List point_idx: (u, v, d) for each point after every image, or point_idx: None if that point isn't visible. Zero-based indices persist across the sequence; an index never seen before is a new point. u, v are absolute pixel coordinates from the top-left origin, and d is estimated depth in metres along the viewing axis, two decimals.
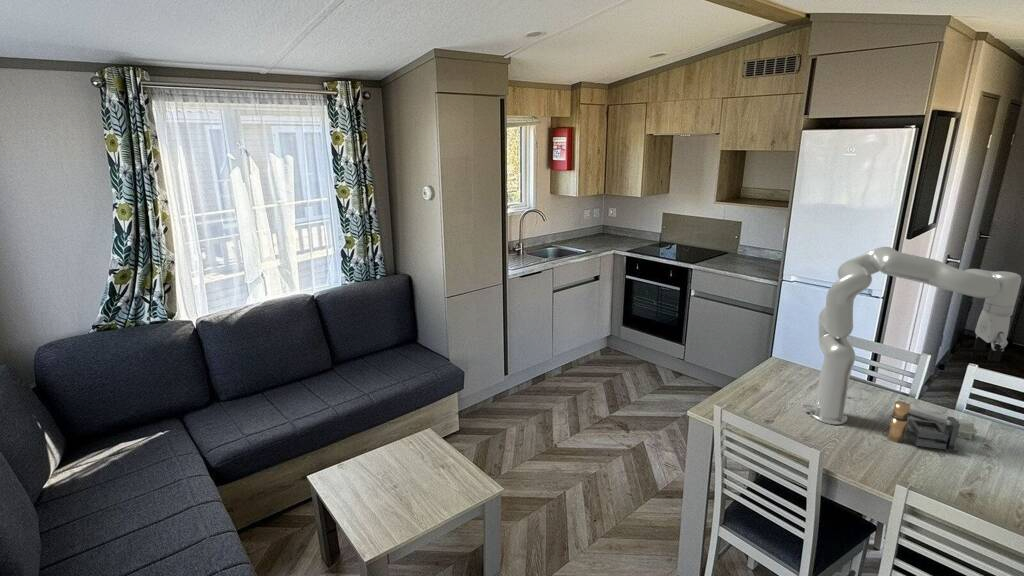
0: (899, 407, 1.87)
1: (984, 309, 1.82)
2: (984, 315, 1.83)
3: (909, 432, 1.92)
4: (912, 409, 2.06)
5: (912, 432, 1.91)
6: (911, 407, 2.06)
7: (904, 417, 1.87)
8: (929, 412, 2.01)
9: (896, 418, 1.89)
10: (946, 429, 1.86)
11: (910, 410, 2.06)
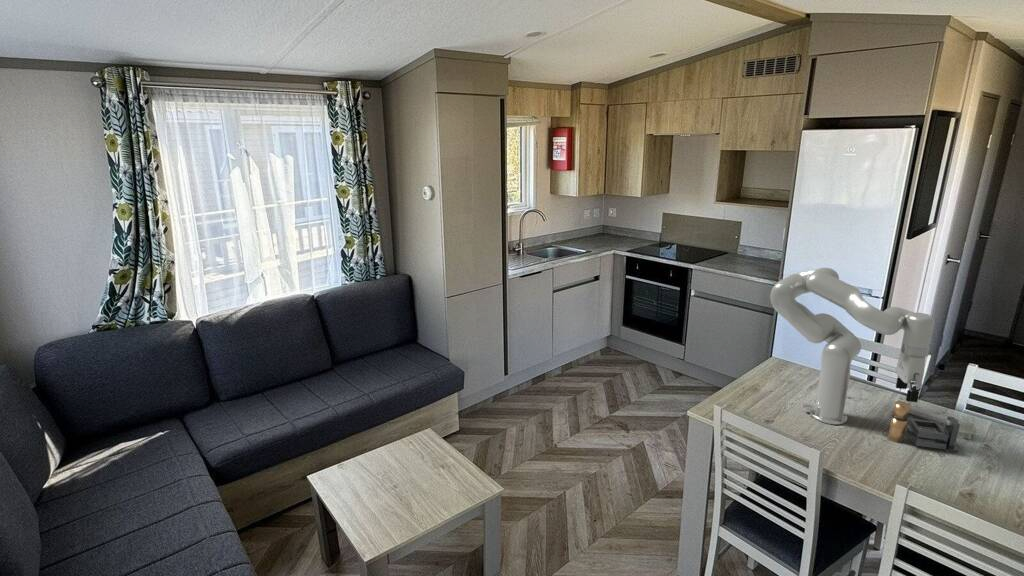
0: (899, 407, 1.87)
1: (901, 350, 1.83)
2: (902, 355, 1.85)
3: (909, 432, 1.92)
4: (912, 409, 2.06)
5: (912, 432, 1.91)
6: (911, 407, 2.06)
7: (904, 417, 1.87)
8: (928, 412, 2.01)
9: (896, 418, 1.89)
10: (946, 429, 1.86)
11: (910, 410, 2.06)
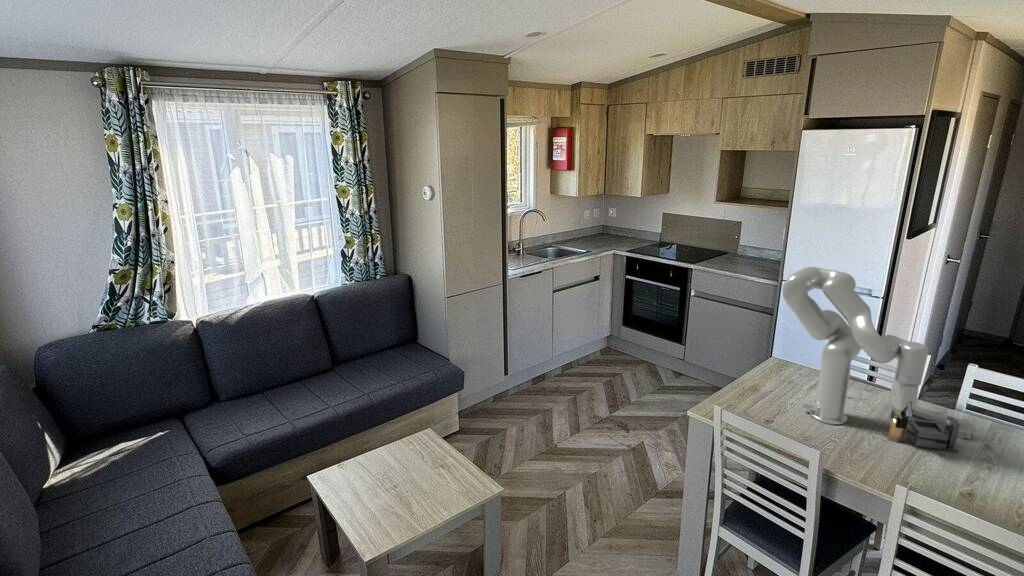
0: None
1: (895, 378, 1.86)
2: (896, 383, 1.88)
3: (909, 432, 1.92)
4: None
5: (912, 432, 1.91)
6: None
7: None
8: (928, 412, 2.01)
9: (896, 418, 1.89)
10: (946, 429, 1.86)
11: None
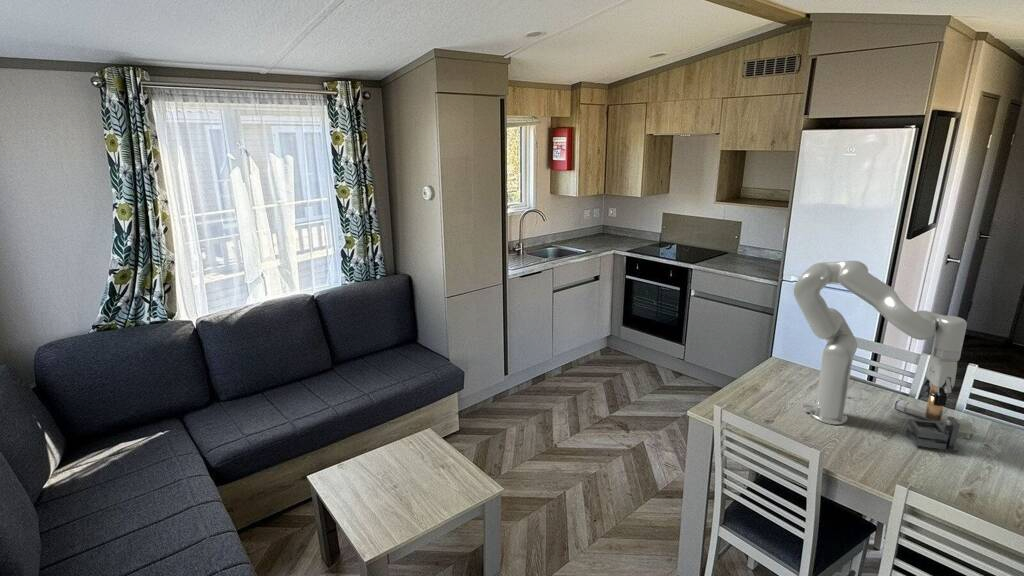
0: None
1: (932, 353, 1.81)
2: (933, 359, 1.82)
3: (909, 432, 1.92)
4: (910, 408, 2.06)
5: (912, 432, 1.91)
6: (909, 406, 2.07)
7: None
8: None
9: (934, 395, 1.83)
10: (946, 429, 1.86)
11: (908, 409, 2.07)
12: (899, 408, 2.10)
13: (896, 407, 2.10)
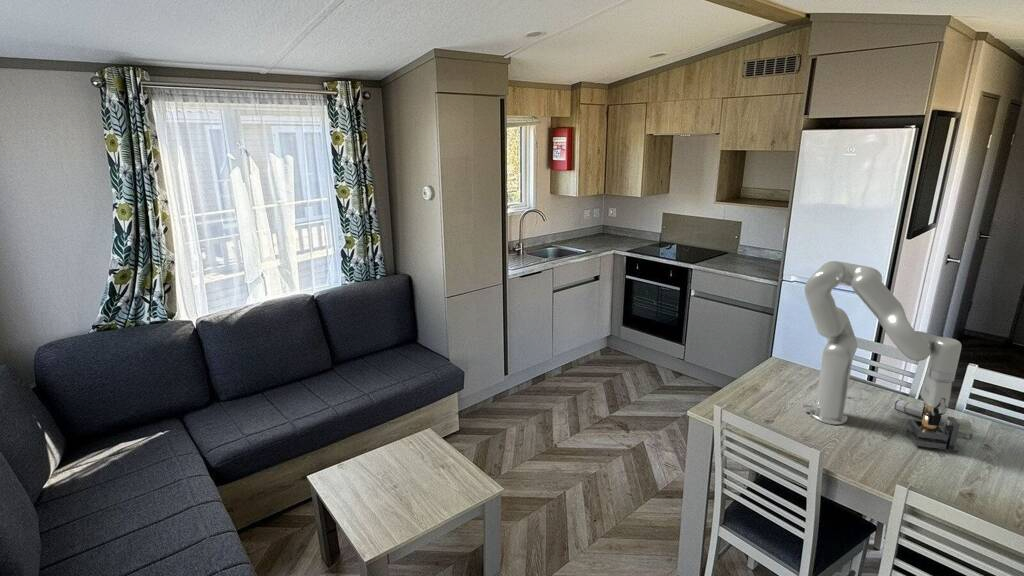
0: None
1: (927, 374, 1.83)
2: (928, 379, 1.85)
3: (909, 432, 1.92)
4: (910, 408, 2.06)
5: (912, 432, 1.91)
6: (909, 406, 2.07)
7: None
8: None
9: (928, 415, 1.85)
10: (946, 429, 1.86)
11: (908, 409, 2.07)
12: (899, 408, 2.10)
13: (896, 407, 2.11)
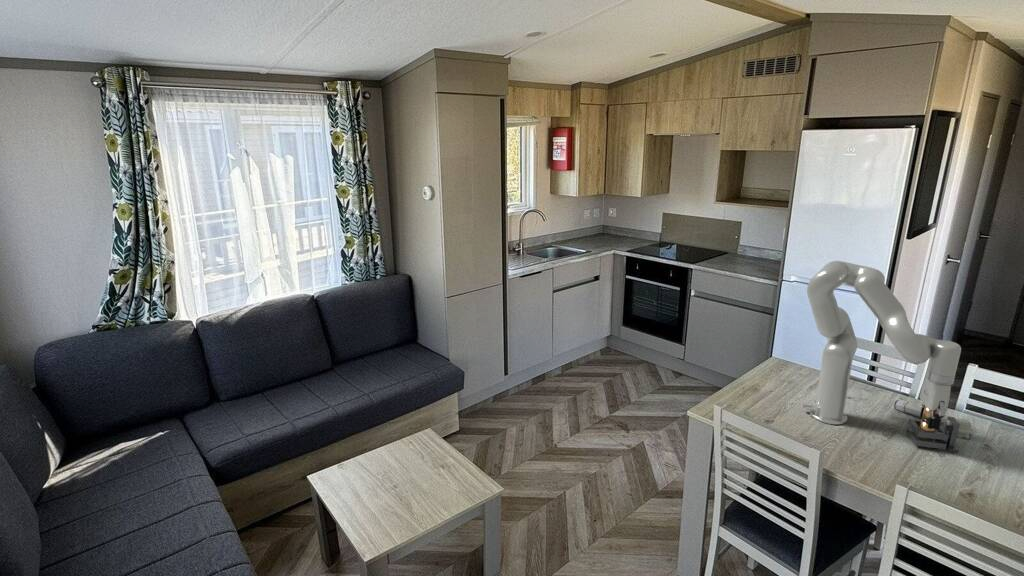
0: (929, 410, 1.85)
1: (926, 377, 1.83)
2: (927, 382, 1.85)
3: (909, 432, 1.92)
4: (910, 408, 2.06)
5: (912, 432, 1.91)
6: (909, 406, 2.07)
7: None
8: None
9: (926, 421, 1.86)
10: (946, 429, 1.86)
11: (908, 409, 2.07)
12: (898, 408, 2.10)
13: (895, 407, 2.11)
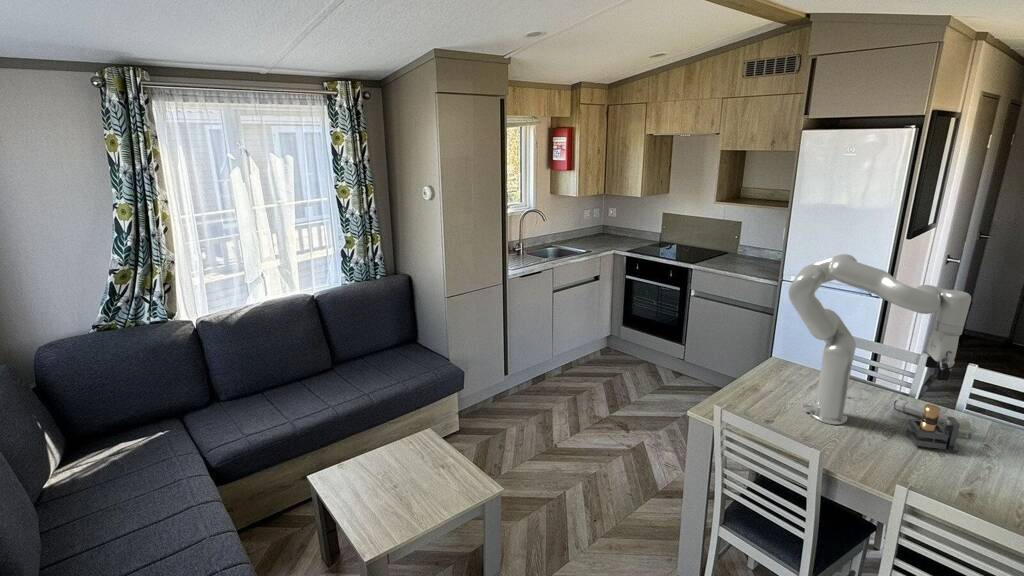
0: (929, 410, 1.85)
1: (934, 327, 1.80)
2: (934, 333, 1.81)
3: (909, 432, 1.92)
4: (909, 408, 2.06)
5: (912, 432, 1.91)
6: (908, 406, 2.07)
7: (934, 420, 1.85)
8: None
9: (926, 421, 1.86)
10: (946, 429, 1.86)
11: (907, 409, 2.07)
12: (898, 408, 2.10)
13: (895, 407, 2.11)
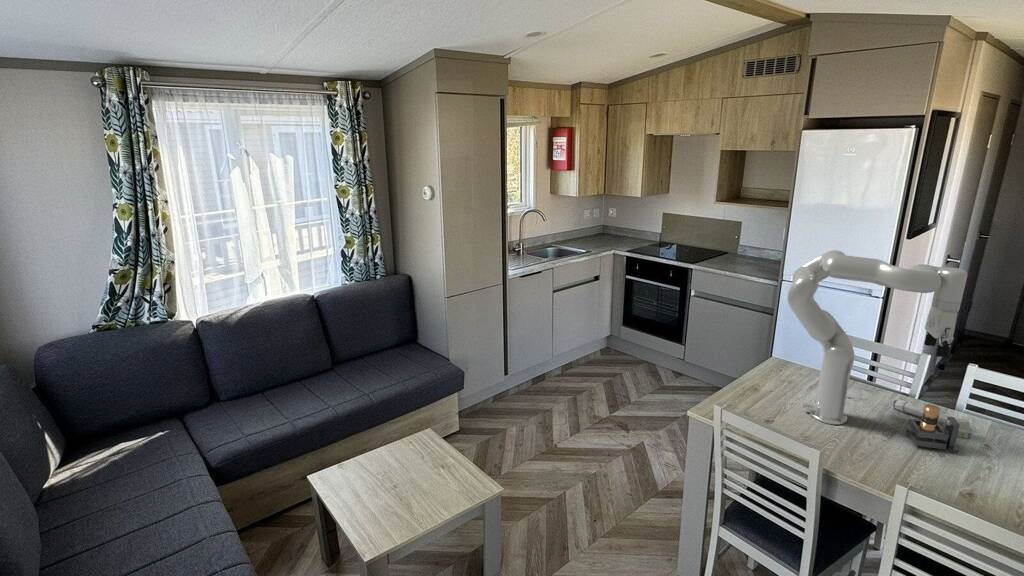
0: (929, 410, 1.85)
1: (932, 305, 1.83)
2: (932, 311, 1.84)
3: (909, 432, 1.92)
4: (909, 408, 2.07)
5: (912, 432, 1.91)
6: (908, 406, 2.07)
7: (934, 420, 1.85)
8: None
9: (926, 421, 1.86)
10: (946, 429, 1.86)
11: (907, 409, 2.07)
12: (897, 407, 2.10)
13: (894, 406, 2.11)
